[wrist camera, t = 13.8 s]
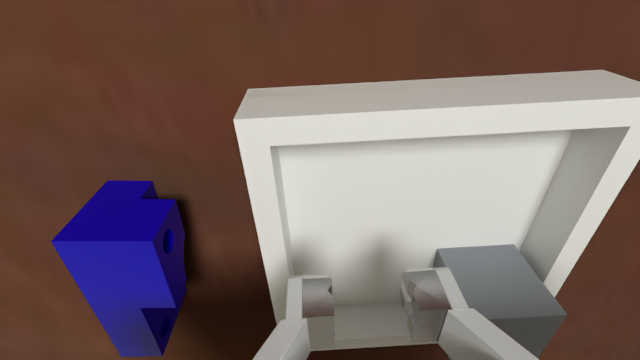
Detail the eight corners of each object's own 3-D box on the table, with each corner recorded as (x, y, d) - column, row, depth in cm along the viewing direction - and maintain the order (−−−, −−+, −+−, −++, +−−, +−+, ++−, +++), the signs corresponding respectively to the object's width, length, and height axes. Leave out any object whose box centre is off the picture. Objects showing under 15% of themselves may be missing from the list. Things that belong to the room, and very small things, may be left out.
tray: (603, 69, 12) (678, 95, 10) (502, 292, 20) (529, 337, 18) (248, 89, 12) (233, 119, 10) (285, 305, 20) (282, 352, 18)
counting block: (513, 244, 16) (567, 314, 13) (493, 292, 18) (534, 362, 15) (436, 248, 16) (471, 320, 13) (425, 296, 18) (452, 368, 15)
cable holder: (152, 241, 11) (186, 180, 15) (50, 241, 11) (109, 179, 14) (192, 355, 16) (212, 288, 19) (121, 356, 16) (153, 289, 19)
